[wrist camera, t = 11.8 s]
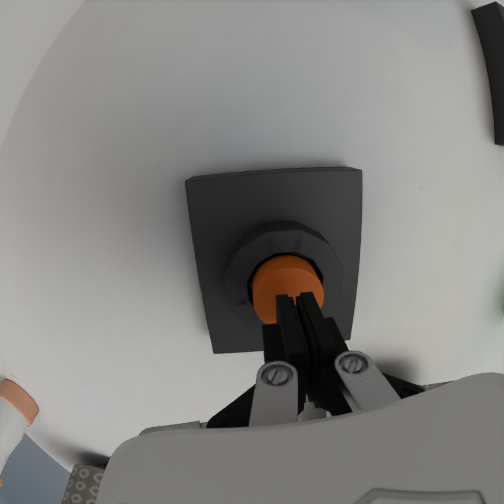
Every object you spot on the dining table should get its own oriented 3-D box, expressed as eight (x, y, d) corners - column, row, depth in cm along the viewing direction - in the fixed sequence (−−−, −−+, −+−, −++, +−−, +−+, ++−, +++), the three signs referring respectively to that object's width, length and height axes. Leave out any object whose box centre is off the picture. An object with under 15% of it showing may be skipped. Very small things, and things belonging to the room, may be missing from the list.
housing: (191, 176, 17) (176, 185, 13) (349, 166, 17) (376, 173, 13) (215, 335, 21) (211, 371, 17) (341, 323, 21) (358, 355, 17)
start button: (250, 257, 15) (250, 271, 13) (316, 251, 15) (325, 265, 13) (254, 314, 16) (256, 332, 14) (315, 308, 16) (322, 325, 14)
